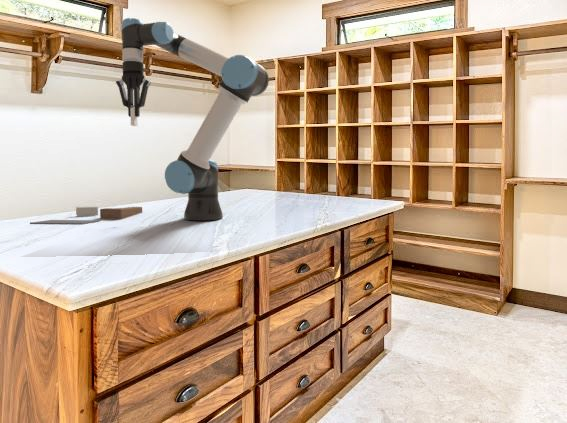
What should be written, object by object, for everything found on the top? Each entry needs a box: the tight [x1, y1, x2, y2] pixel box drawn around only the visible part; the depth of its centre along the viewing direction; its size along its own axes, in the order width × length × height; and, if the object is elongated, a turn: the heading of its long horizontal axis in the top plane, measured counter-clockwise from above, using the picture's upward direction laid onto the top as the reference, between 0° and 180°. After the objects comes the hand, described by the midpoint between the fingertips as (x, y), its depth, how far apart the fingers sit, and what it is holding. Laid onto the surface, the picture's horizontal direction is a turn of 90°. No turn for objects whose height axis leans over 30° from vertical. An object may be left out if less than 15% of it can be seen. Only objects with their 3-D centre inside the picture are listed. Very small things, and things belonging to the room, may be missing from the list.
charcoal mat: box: [29, 219, 102, 225], centre depth 176 cm, size 20×13×1 cm, turn 83°
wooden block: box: [99, 206, 143, 220], centre depth 194 cm, size 9×4×18 cm
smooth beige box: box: [75, 205, 99, 218], centre depth 196 cm, size 8×8×5 cm
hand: (134, 125), depth 180 cm, fingers closed
